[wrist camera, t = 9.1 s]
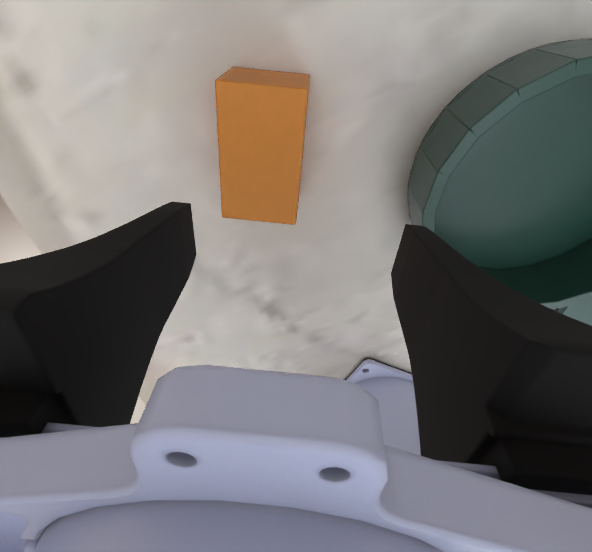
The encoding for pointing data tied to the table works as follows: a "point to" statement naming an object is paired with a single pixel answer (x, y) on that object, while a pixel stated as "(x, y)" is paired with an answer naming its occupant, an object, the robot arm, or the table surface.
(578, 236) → the tin
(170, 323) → the table surface
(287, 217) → the soap
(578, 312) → the tin lid
